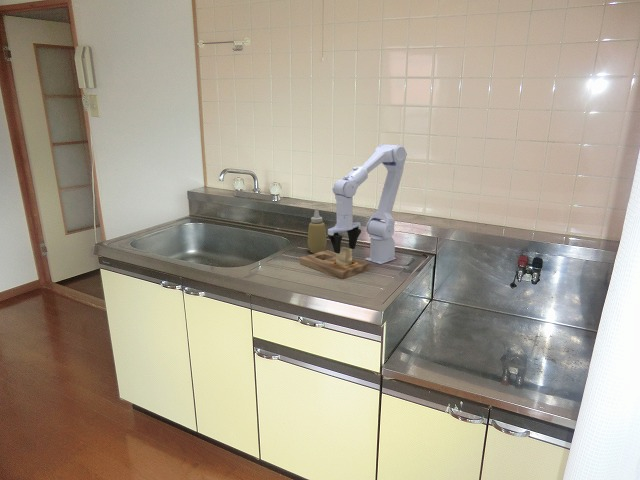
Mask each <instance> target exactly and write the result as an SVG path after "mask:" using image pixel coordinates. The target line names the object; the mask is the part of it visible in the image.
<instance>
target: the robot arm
mask: <svg viewBox="0 0 640 480" xmlns="http://www.w3.org/2000/svg"><path fill="white" fill-rule="evenodd" d="M407 156H408V154H407V151H406V148H405V146H403V145H401V144H387V143H386V144H385V143H380V144H379V145H378V146H377V147H375V149H374V153H373V154H372V155H371V156H370V157H369V158H368V159H367V160H366V161H365V162H364V163H363V164H362V165H361V166H360V165H357V166H353V168H352V170H350V172H349V173H347V174H346V175H345V176H343V178H342V179H338V180H336V181H335V182H334V184H333V187H332V192H333V194H334V197H335V200H336V201H335V205H336V207H335V208H336V212H335V214H336V223H335V225H334V226H333V227H331V228H327V237H328V238H329V241H330V242H331V244H332V249H333V252H335V253H337V254H339V253H340V248H341V245H342V239H343V237H344V236H343V235H340V233H345V232H347V235H348V237H347V238H348V248H349V249H352V250H354V249H355V248H356V245H357V241H358V239H359V236H360V234H362V229H361V227H362V225H361V222H360V221H356V222H355V221H354V222H353V220H354V217H353V213H354V211H353V209H354V206H353V204H354V203H353V202H354V201H353V200H354V197H353V196H356V194H357V190H358V189H359V187H360V186H361V185H362V184H363V183H364V182H365V181H366V180H367V179H368V177H369V173H370V172H372V171H373V170H374V169H375V168H376V169H377V167H378V166H379V165H381V164H382V165H383V166H384V167H385V168H386V170H387V173H386V177H385V182H384V183H383V184H384V185H383V188H382V192H381V196H380V200H379V203H378V207H377V210H376V211H375V212H374V213H373V214H371V215H370V218H369V220H368V221H367V223H366V225H365V230H366V232H367V234H368V235H369V236H368V237H369V239H370V244H369V245H370V247H369V251H370V252H369V257H366V258H365V261H369V262H371V263H372V262H373V263H375V264H378V265H382V264H384V263H385V264H386V263H387V262H390V261H394V260H396V259H397V257H396V258H395V255H396V254H395V253H396V251H395V250H396V242H395V239H394V238H393V236H394V234H395V223H396V220H395V218H394V217H393V216H392V212H393V209H394V205H395V201H396V198H397V194H398V190H399V187H400V183H401V179H402V176H403V173H404V166H405V163H406V160H407Z"/></svg>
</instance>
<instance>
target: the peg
mask: <svg viewBox="0 0 640 480" xmlns="http://www.w3.org/2000/svg"><path fill="white" fill-rule="evenodd" d="M352 258H353V249H351V248H349V247H346V246H342V247H340V253H339V254H337V253H336V264H337V265H340V266H343V267H346V266H349V265H352Z"/></svg>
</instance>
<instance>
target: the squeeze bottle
mask: <svg viewBox="0 0 640 480" xmlns="http://www.w3.org/2000/svg"><path fill="white" fill-rule="evenodd" d="M313 212H314V213H313V216H312V217H310V222H309V224H308V231H307V240H306V241H307V247H308V248H309V249H308V250H309V252H310V253H312V254H314V253H318V252H322V251H325V250H326V248H327V244H328V240H327V232H326V231H327V230H326V223H324V222H323V217H322V216H321V215H320V211H319V208H315V209H314V211H313Z"/></svg>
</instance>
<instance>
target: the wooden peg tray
mask: <svg viewBox="0 0 640 480" xmlns="http://www.w3.org/2000/svg"><path fill="white" fill-rule="evenodd" d="M299 265H302V266H305V267H308V268H311V269H314V270H315V271H317V272H318V271H319V272H321V273H325V274H327V275H330V276H332V277H334V278H338V279H341V280H344V279H346V278H350V277H353V276H355V275H359V274H362V273H365V272H368V271H370V270H371V263H370V262H367V261H363V260H361V259H357V258H354V257H352V265H349V266H346V267H343V266H340V265H337V264H336V253H335V252H334V251H331V250H329V249H325V251H322V252H318V253H312V254H308V255H305V256H300V257H299Z"/></svg>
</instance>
